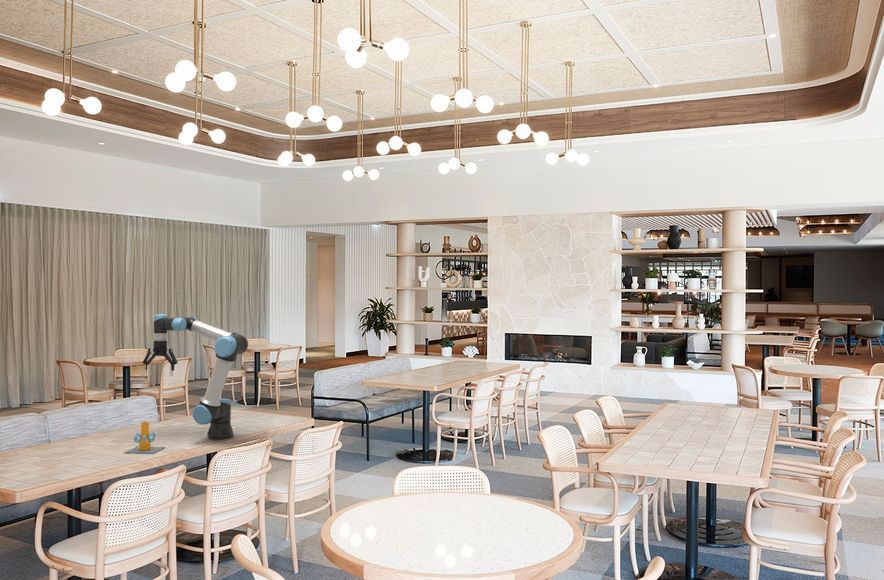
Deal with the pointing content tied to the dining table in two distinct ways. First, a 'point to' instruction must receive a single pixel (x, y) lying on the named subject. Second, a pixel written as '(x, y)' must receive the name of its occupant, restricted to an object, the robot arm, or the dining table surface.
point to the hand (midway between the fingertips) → (160, 375)
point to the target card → (151, 451)
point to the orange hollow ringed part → (144, 437)
